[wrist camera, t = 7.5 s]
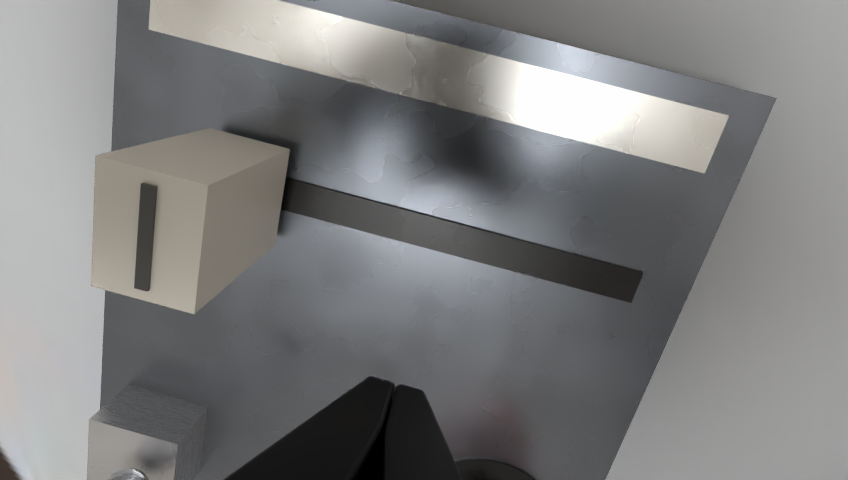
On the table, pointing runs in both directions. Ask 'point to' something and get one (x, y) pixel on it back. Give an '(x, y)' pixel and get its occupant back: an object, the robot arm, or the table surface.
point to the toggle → (128, 474)
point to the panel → (418, 232)
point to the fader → (184, 215)
